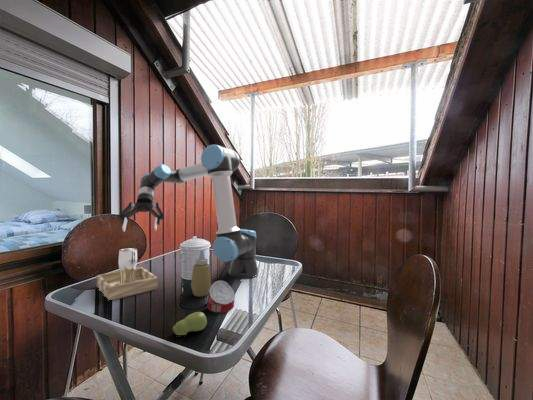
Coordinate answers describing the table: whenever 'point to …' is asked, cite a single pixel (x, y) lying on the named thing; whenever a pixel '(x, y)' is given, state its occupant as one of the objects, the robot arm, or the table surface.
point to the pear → (190, 323)
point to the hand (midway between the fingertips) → (139, 229)
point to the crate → (126, 284)
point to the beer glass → (127, 265)
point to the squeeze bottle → (201, 276)
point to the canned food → (220, 297)
